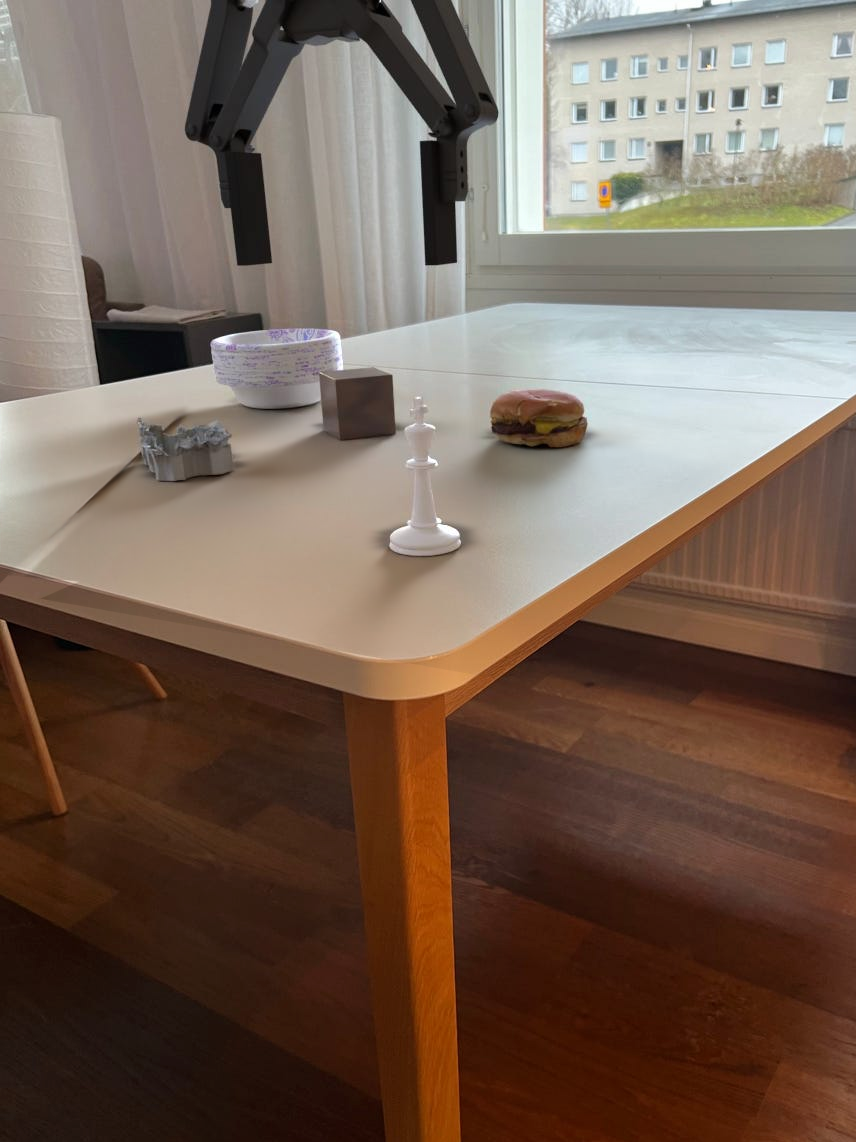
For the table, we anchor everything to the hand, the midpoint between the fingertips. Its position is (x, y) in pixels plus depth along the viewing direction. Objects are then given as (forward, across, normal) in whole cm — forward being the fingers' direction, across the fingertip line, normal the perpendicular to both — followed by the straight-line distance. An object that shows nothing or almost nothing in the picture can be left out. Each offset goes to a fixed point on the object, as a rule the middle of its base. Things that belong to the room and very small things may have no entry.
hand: (344, 265), depth 62 cm
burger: (+18, +1, -35) cm, 40 cm away
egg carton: (+18, +27, -14) cm, 35 cm away
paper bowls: (+18, +38, -44) cm, 61 cm away
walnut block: (+18, +20, -32) cm, 42 cm away
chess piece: (+18, -4, -1) cm, 19 cm away
